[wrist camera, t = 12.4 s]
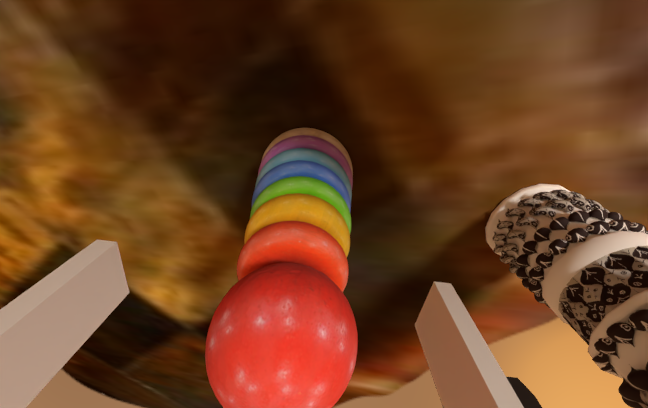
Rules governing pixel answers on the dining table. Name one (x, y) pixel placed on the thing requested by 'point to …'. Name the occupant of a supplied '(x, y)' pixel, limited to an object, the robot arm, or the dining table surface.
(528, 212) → the decorative candle
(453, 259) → the dining table surface
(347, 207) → the stacking toy
